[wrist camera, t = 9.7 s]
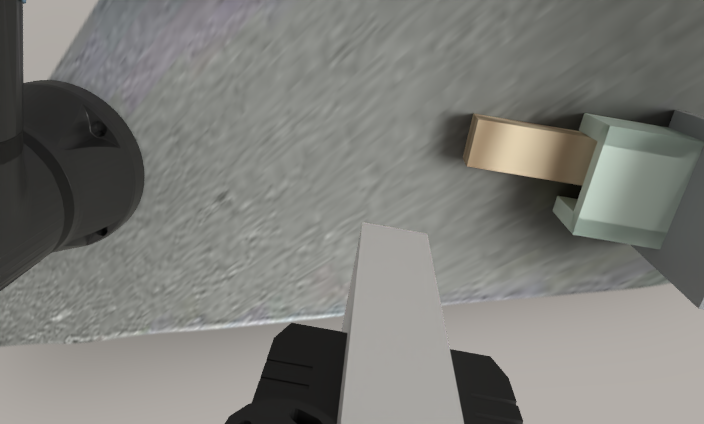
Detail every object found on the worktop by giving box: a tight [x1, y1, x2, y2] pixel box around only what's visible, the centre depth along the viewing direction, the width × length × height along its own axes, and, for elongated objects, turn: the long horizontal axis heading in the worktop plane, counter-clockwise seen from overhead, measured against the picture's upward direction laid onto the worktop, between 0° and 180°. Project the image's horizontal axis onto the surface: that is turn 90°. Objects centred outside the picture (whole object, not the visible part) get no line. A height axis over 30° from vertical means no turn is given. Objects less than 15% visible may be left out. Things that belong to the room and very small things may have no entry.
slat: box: [463, 114, 598, 186], centre depth 44 cm, size 14×4×3 cm, turn 81°
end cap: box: [553, 110, 704, 309], centre depth 40 cm, size 8×12×12 cm
